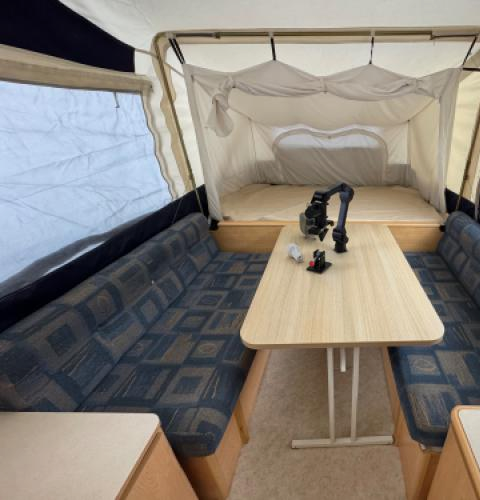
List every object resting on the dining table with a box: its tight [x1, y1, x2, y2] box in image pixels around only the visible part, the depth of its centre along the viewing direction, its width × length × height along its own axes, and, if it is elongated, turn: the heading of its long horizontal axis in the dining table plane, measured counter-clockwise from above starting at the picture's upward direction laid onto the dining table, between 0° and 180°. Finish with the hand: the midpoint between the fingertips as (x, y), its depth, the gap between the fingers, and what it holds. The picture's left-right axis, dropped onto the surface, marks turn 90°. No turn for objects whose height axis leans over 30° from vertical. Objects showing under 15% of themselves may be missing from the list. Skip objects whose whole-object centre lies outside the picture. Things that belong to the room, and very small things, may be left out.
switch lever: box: [308, 250, 322, 267], centre depth 142 cm, size 11×3×3 cm, turn 151°
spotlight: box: [285, 242, 305, 263], centre depth 155 cm, size 8×11×8 cm
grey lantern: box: [298, 202, 317, 241], centre depth 181 cm, size 14×9×25 cm, turn 22°
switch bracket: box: [306, 248, 333, 275], centre depth 145 cm, size 12×9×10 cm
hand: (321, 241), depth 148 cm, fingers closed
